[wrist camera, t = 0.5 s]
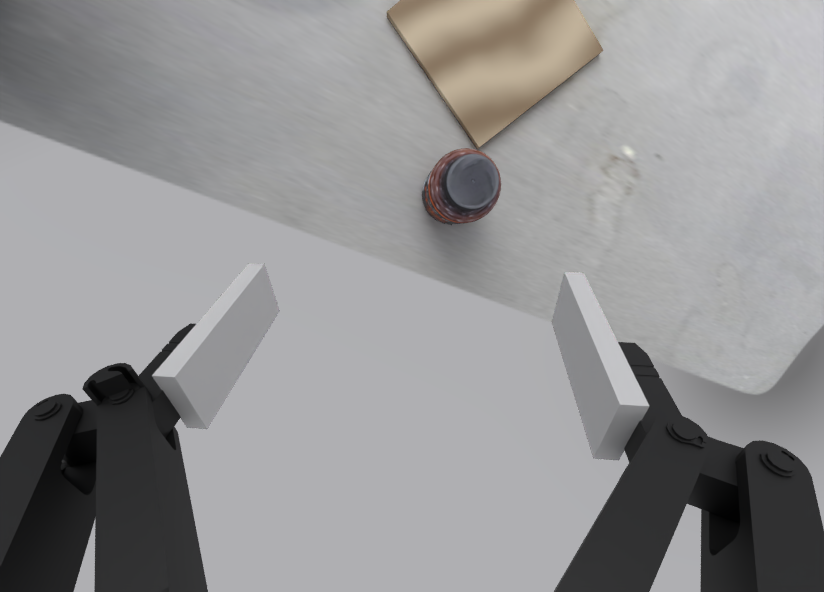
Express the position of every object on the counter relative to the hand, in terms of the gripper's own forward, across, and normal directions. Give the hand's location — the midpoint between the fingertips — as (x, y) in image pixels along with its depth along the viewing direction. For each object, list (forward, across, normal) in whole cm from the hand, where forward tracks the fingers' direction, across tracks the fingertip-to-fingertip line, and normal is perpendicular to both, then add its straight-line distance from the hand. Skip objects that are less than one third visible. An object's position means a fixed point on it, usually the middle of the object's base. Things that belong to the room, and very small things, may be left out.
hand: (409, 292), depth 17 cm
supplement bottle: (+24, +2, -5) cm, 25 cm away
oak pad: (+31, +5, +8) cm, 33 cm away
